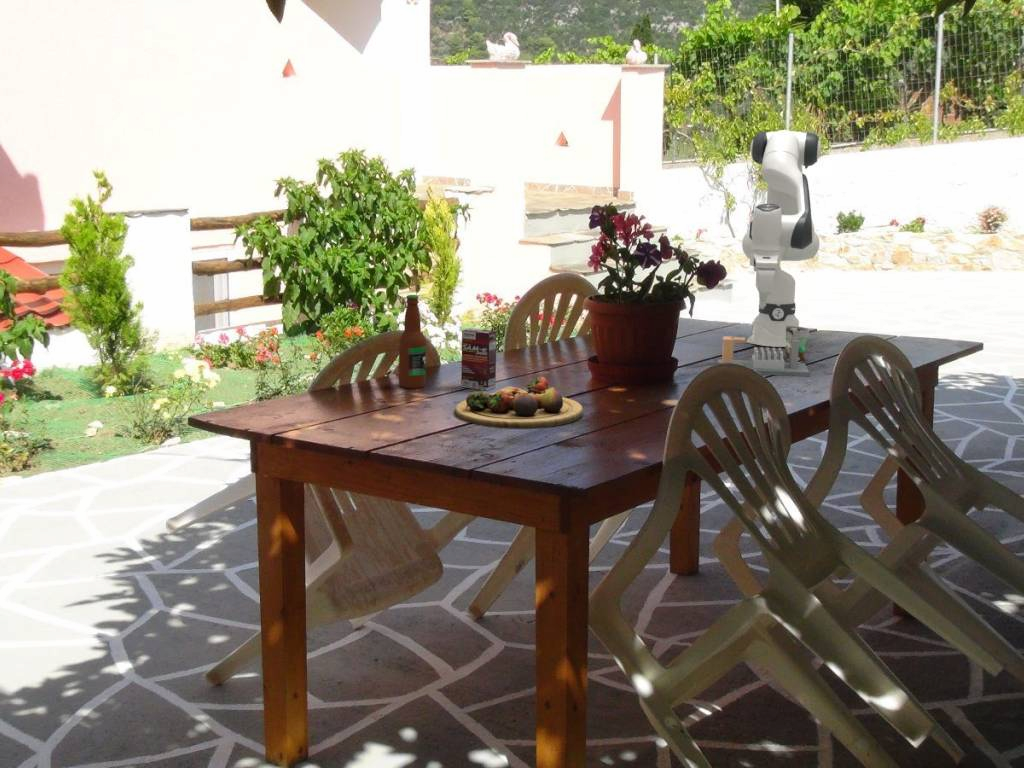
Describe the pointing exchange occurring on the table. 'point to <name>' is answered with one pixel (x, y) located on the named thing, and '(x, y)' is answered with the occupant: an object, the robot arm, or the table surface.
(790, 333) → the food container
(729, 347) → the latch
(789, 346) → the light grey flat bar
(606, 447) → the table surface
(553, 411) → the wooden plate with food
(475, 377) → the supplement box
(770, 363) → the heat sink
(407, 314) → the bottle
